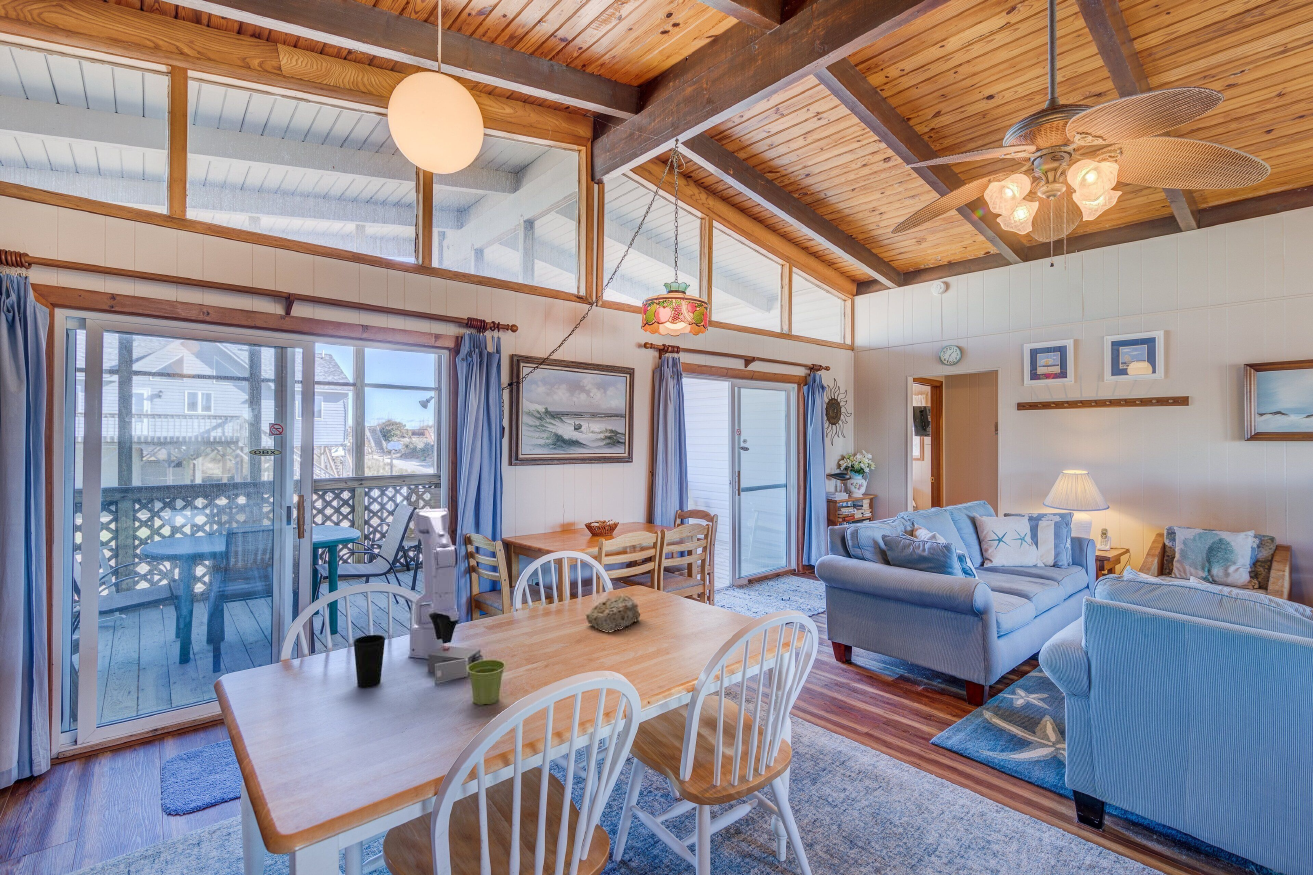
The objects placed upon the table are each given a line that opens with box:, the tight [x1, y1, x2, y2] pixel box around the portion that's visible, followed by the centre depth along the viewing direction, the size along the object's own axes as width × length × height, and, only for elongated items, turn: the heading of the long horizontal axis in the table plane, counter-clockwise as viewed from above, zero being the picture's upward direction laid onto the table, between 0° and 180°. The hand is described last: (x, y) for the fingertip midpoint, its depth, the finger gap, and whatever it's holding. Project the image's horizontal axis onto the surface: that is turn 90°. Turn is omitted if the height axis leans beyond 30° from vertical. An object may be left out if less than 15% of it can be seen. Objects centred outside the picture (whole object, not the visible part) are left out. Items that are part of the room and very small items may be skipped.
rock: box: [585, 594, 641, 631], centre depth 222 cm, size 21×14×10 cm
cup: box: [353, 634, 386, 689], centre depth 166 cm, size 8×8×12 cm
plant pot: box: [467, 659, 506, 706], centre depth 157 cm, size 9×9×9 cm
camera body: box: [427, 645, 484, 676], centre depth 177 cm, size 14×8×6 cm, turn 77°
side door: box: [434, 659, 469, 684], centre depth 170 cm, size 9×1×5 cm, turn 122°
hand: (443, 640), depth 171 cm, fingers open, 3 cm apart
